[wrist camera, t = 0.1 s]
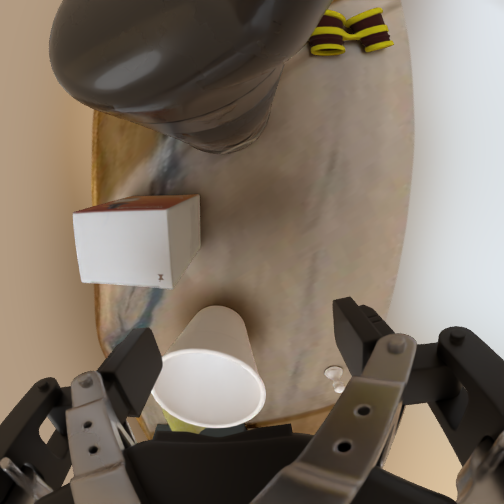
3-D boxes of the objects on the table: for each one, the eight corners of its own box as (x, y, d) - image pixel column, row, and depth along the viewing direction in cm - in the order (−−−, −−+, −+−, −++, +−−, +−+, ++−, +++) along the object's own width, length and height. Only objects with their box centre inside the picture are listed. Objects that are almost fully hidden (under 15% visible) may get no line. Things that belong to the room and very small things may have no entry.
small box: (201, 193, 26) (170, 207, 16) (201, 248, 28) (175, 291, 18) (127, 195, 26) (69, 211, 16) (131, 246, 28) (79, 284, 18)
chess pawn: (322, 376, 33) (328, 396, 29) (326, 365, 32) (333, 385, 29) (339, 377, 33) (347, 396, 29) (344, 366, 33) (352, 385, 29)
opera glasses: (306, 61, 23) (321, 51, 19) (291, 20, 21) (302, 4, 16) (382, 53, 22) (405, 46, 18) (368, 15, 20) (388, 3, 15)
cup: (196, 366, 32) (179, 432, 22) (163, 300, 30) (127, 359, 19) (272, 349, 32) (279, 419, 21) (246, 277, 29) (243, 336, 18)
